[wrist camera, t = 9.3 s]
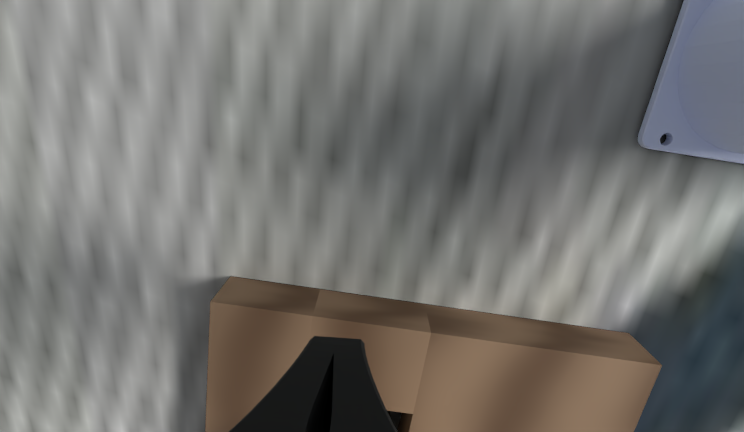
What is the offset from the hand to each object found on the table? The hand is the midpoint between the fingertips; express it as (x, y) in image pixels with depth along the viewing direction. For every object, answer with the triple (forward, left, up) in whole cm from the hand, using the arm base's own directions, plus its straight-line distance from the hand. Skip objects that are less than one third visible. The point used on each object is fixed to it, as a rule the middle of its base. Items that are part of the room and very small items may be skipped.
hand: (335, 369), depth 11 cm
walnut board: (-4, +9, -9) cm, 14 cm away
